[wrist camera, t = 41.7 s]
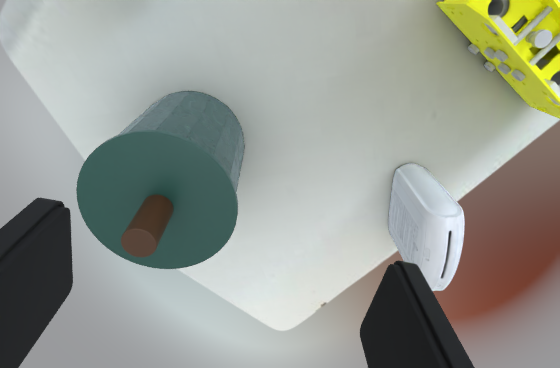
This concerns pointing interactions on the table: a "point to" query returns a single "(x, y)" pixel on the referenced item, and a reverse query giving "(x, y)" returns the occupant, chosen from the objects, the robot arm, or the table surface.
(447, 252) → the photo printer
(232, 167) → the tin
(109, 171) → the tin lid
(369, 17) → the table surface
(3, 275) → the robot arm
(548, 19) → the yellow toy chassis
